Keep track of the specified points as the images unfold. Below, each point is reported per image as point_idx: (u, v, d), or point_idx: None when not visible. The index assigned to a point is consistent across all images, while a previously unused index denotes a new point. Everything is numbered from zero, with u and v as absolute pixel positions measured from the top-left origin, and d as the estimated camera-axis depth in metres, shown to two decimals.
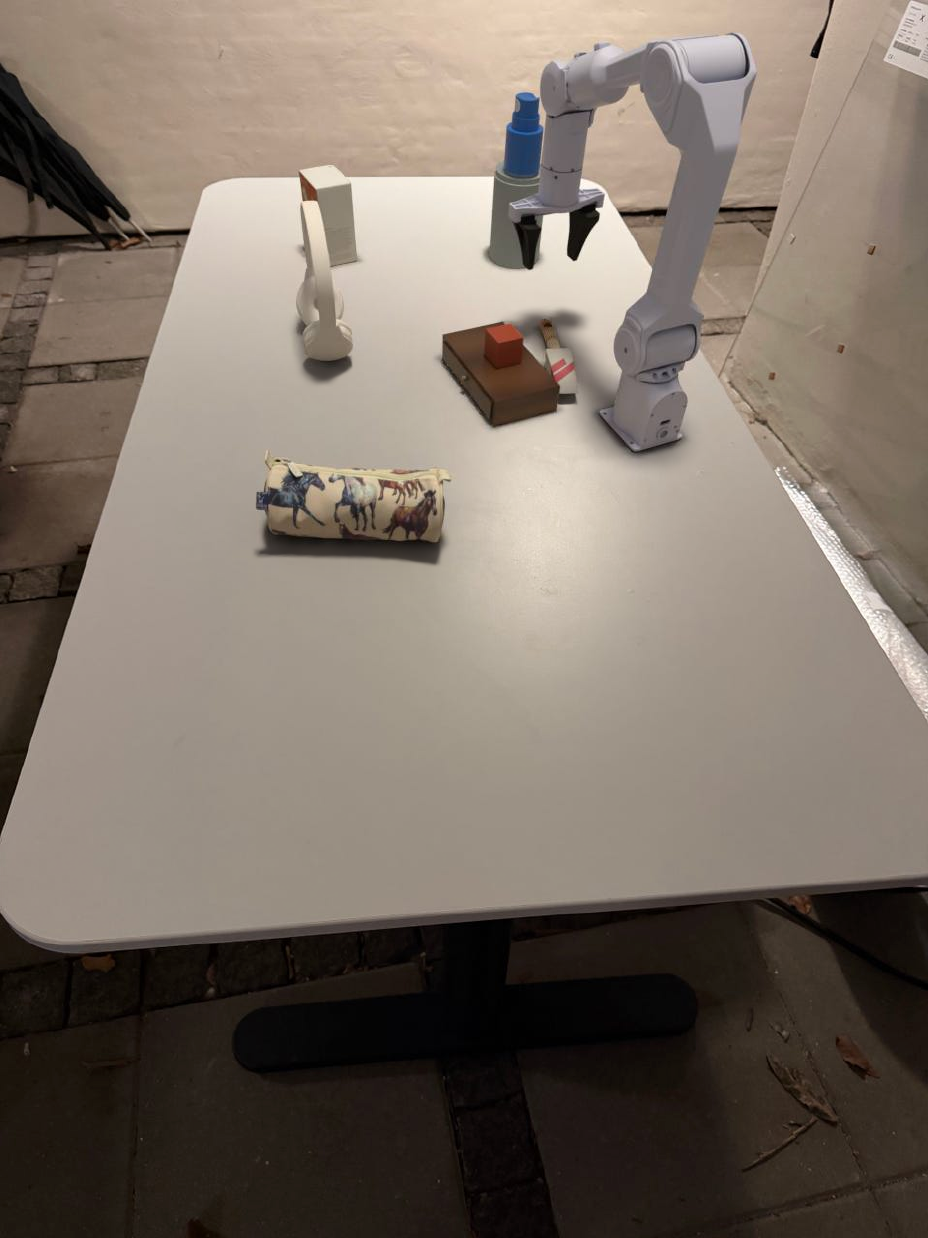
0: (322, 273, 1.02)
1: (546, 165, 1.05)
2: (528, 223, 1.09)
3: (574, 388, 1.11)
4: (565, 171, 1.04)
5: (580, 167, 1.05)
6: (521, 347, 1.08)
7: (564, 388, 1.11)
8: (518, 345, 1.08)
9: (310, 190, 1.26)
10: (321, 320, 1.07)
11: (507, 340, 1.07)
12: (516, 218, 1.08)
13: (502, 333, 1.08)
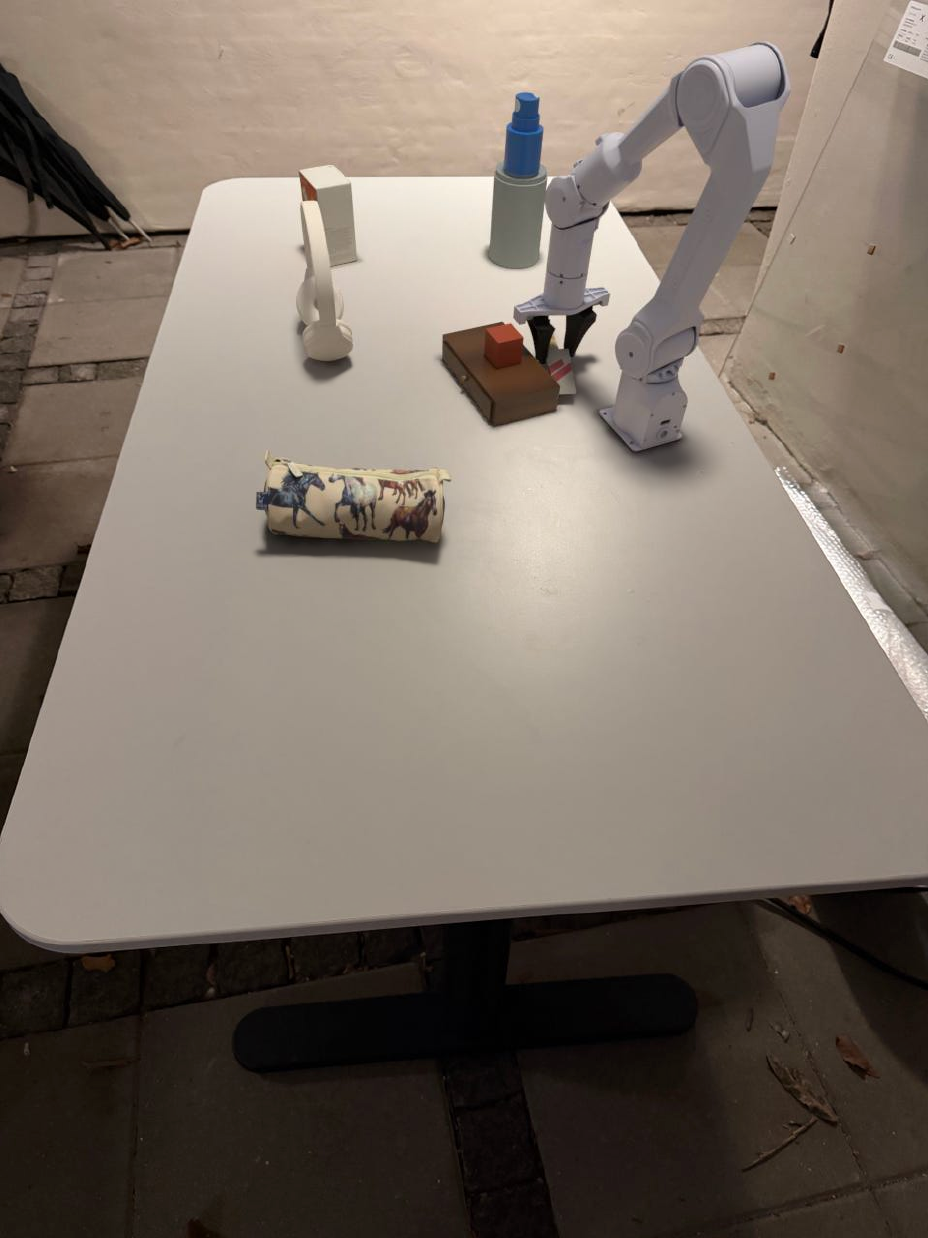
0: (322, 273, 1.02)
1: (555, 272, 1.04)
2: (542, 322, 1.09)
3: (572, 389, 1.11)
4: (571, 277, 1.04)
5: (587, 270, 1.05)
6: (521, 347, 1.08)
7: (562, 389, 1.10)
8: (518, 345, 1.08)
9: (310, 190, 1.26)
10: (321, 320, 1.07)
11: (507, 340, 1.07)
12: (521, 320, 1.08)
13: (502, 333, 1.08)
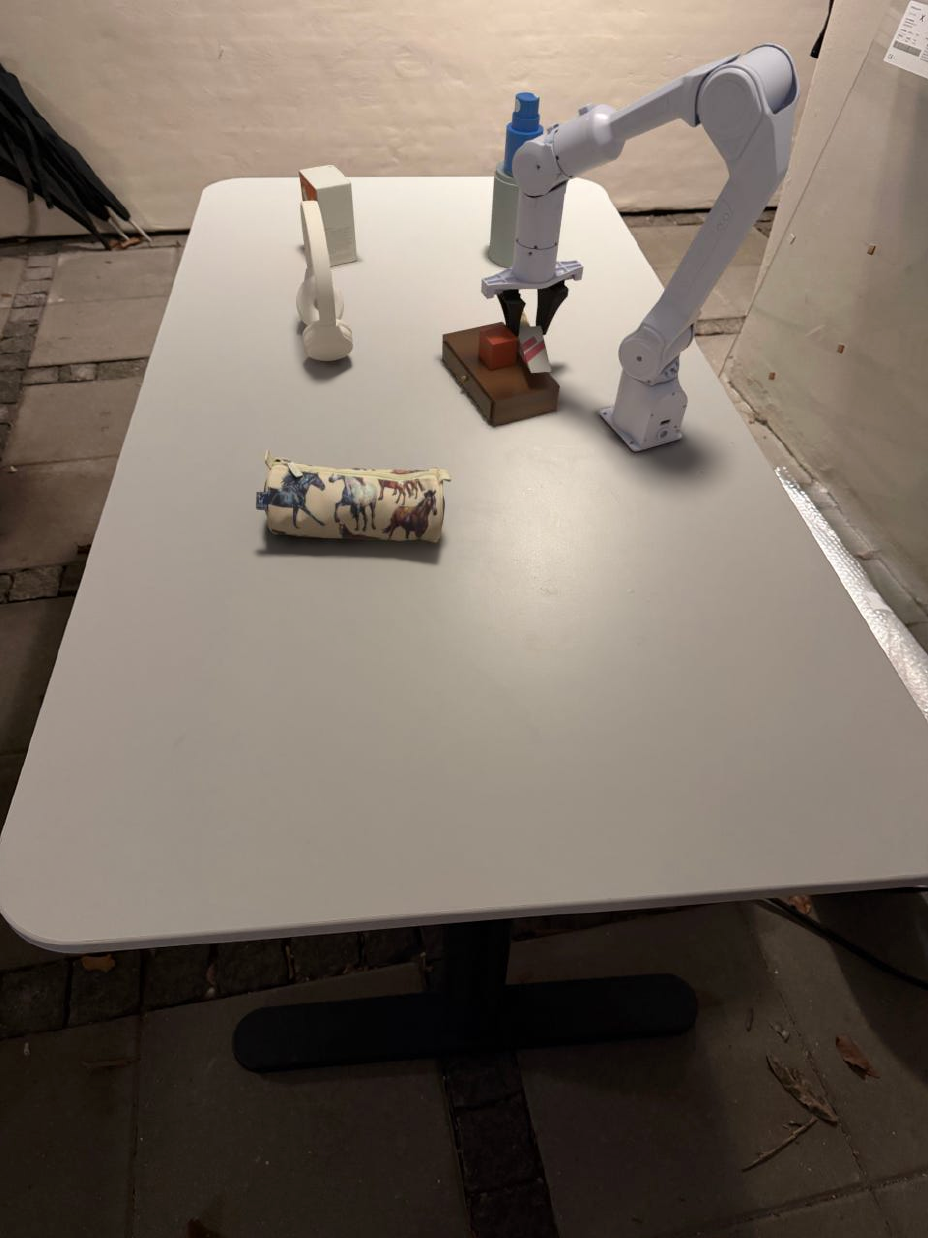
0: (322, 273, 1.02)
1: (529, 244, 0.98)
2: (512, 297, 1.04)
3: (546, 366, 1.05)
4: (540, 248, 0.99)
5: None
6: (516, 349, 1.08)
7: (536, 367, 1.05)
8: (512, 346, 1.08)
9: (310, 190, 1.26)
10: (321, 320, 1.07)
11: (501, 341, 1.06)
12: (489, 294, 1.02)
13: (496, 335, 1.07)
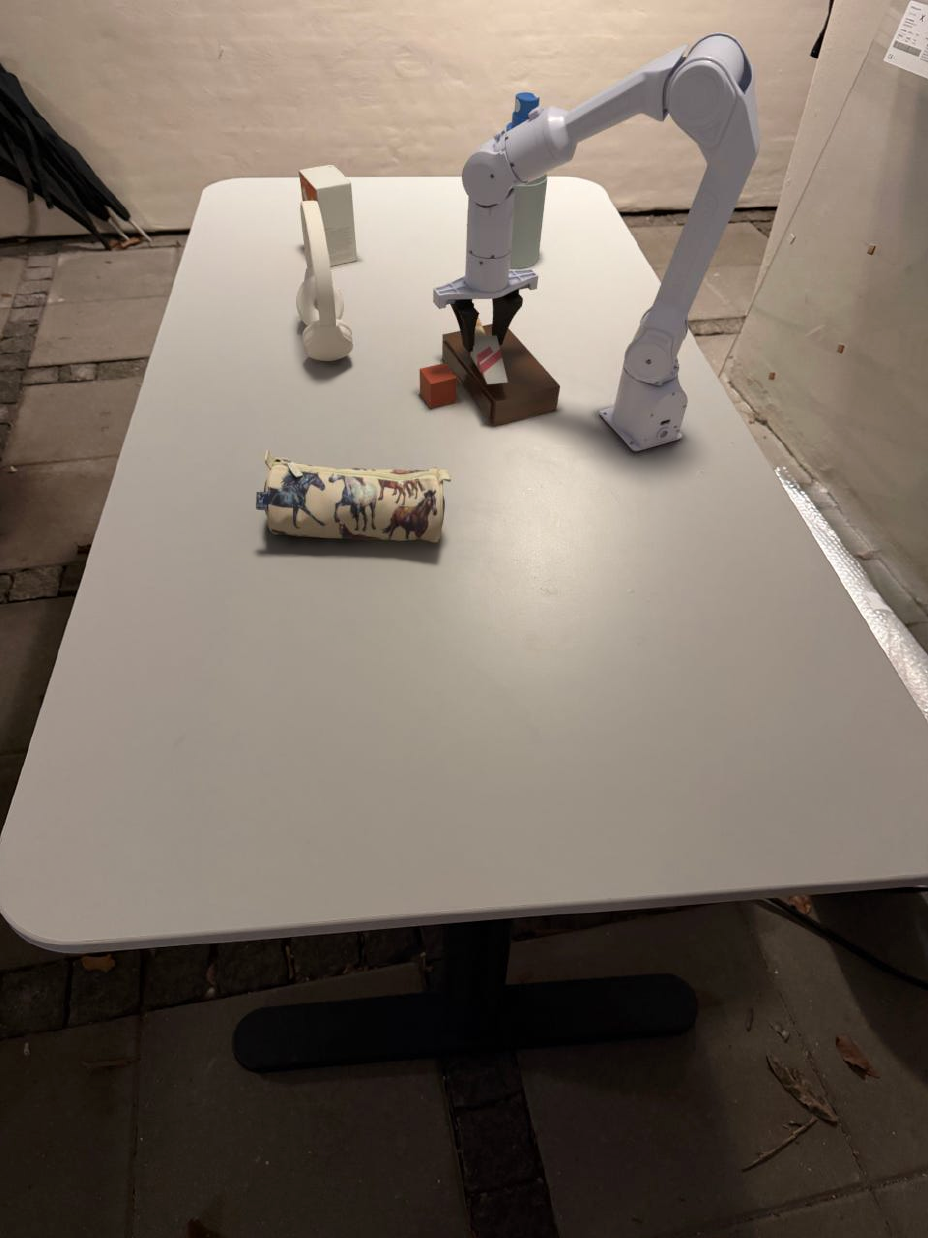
0: (322, 273, 1.02)
1: (485, 255, 0.96)
2: (465, 307, 1.02)
3: (503, 377, 1.03)
4: (490, 257, 0.97)
5: None
6: (441, 382, 1.07)
7: (492, 378, 1.03)
8: (438, 386, 1.07)
9: (310, 190, 1.26)
10: (321, 320, 1.07)
11: (430, 398, 1.08)
12: (440, 304, 1.00)
13: (425, 391, 1.09)
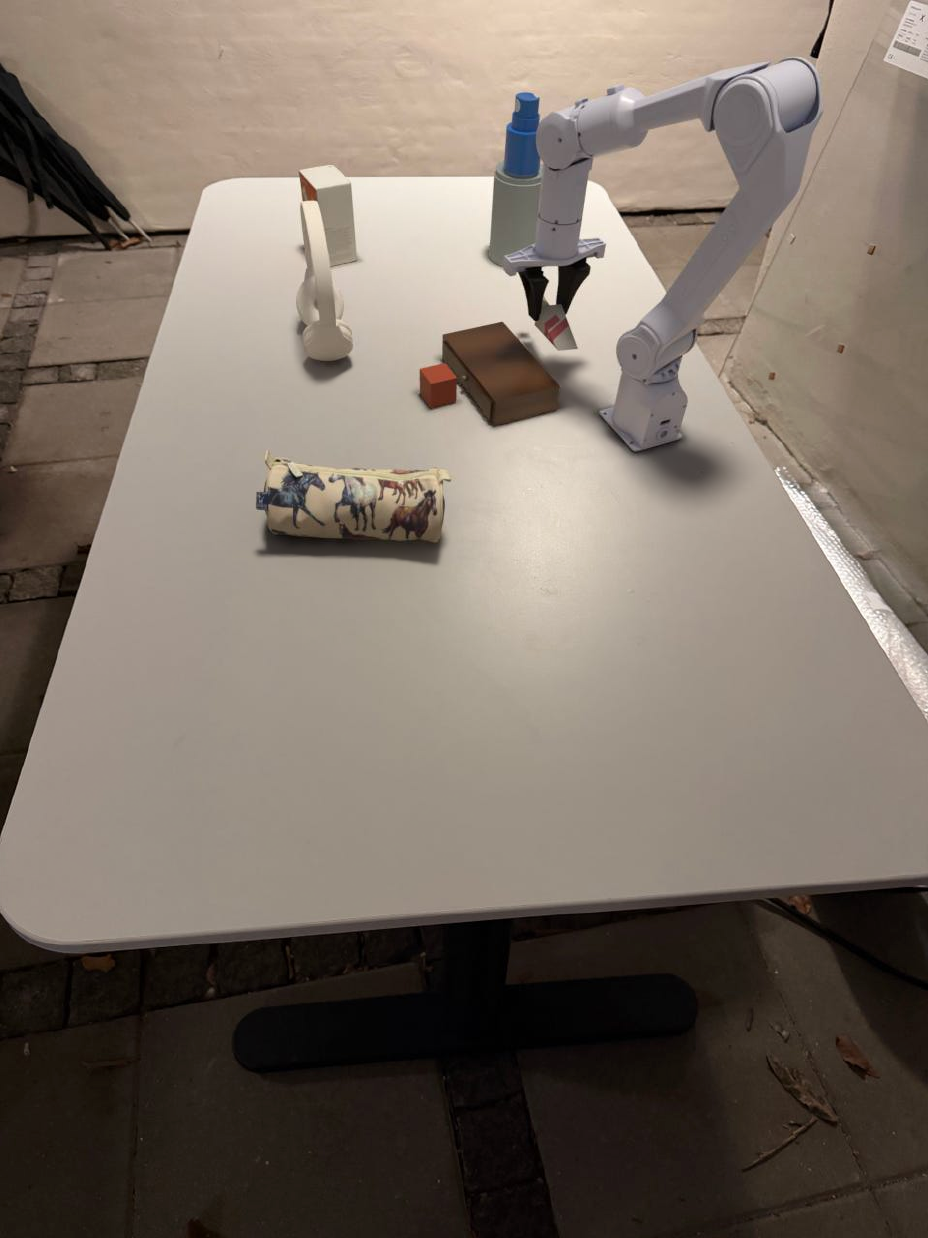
0: (322, 273, 1.02)
1: (549, 219, 0.97)
2: (534, 274, 1.03)
3: (572, 344, 1.04)
4: (564, 223, 0.97)
5: (582, 215, 0.99)
6: (441, 382, 1.07)
7: (562, 345, 1.04)
8: (438, 386, 1.07)
9: (310, 190, 1.26)
10: (321, 320, 1.07)
11: (430, 398, 1.08)
12: (511, 272, 1.01)
13: (425, 391, 1.09)
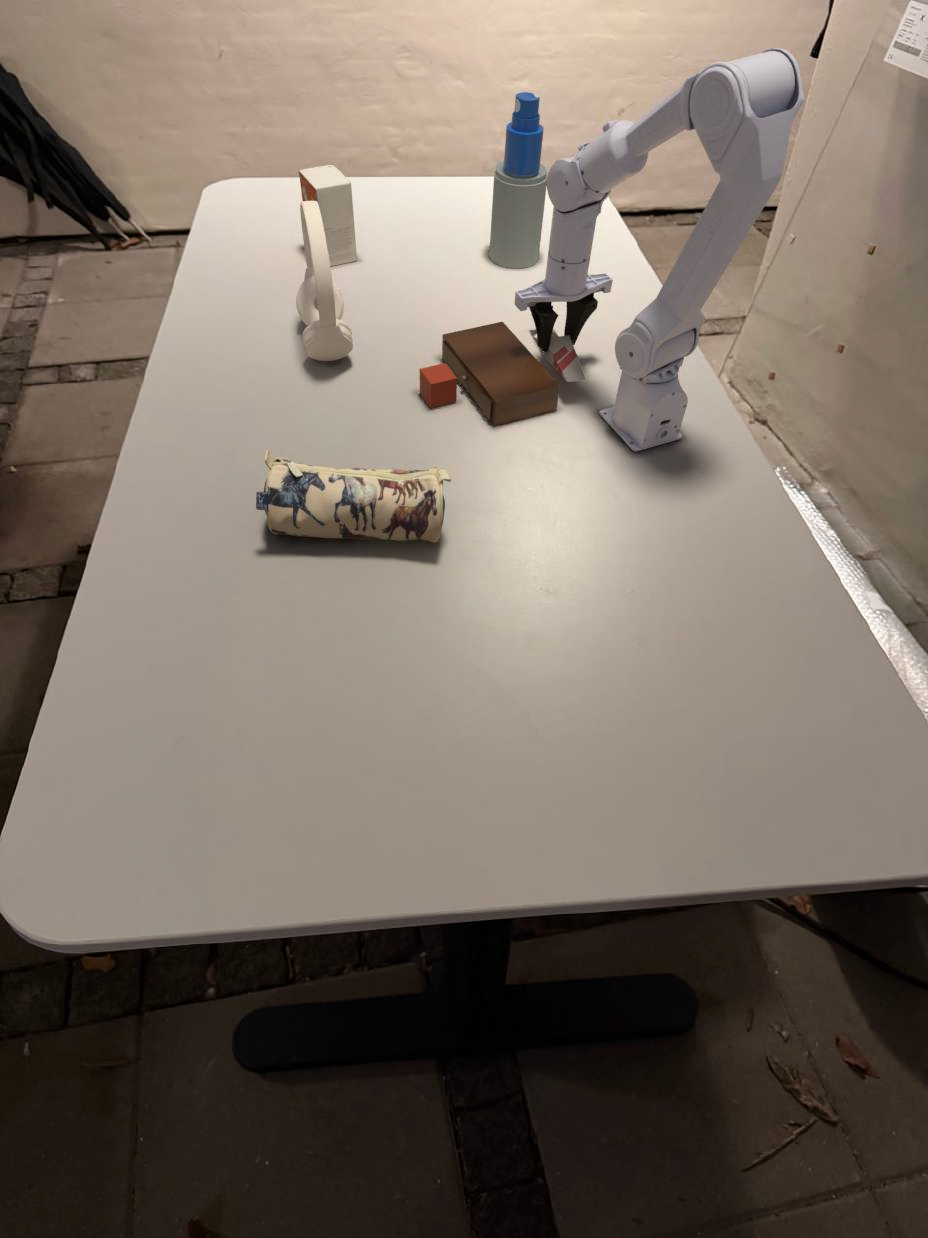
0: (322, 273, 1.02)
1: (557, 257, 1.02)
2: (544, 309, 1.08)
3: (581, 375, 1.09)
4: (573, 262, 1.02)
5: (590, 255, 1.03)
6: (441, 382, 1.07)
7: (571, 376, 1.09)
8: (438, 387, 1.07)
9: (310, 190, 1.26)
10: (321, 320, 1.07)
11: (430, 398, 1.08)
12: (522, 307, 1.06)
13: (425, 391, 1.09)
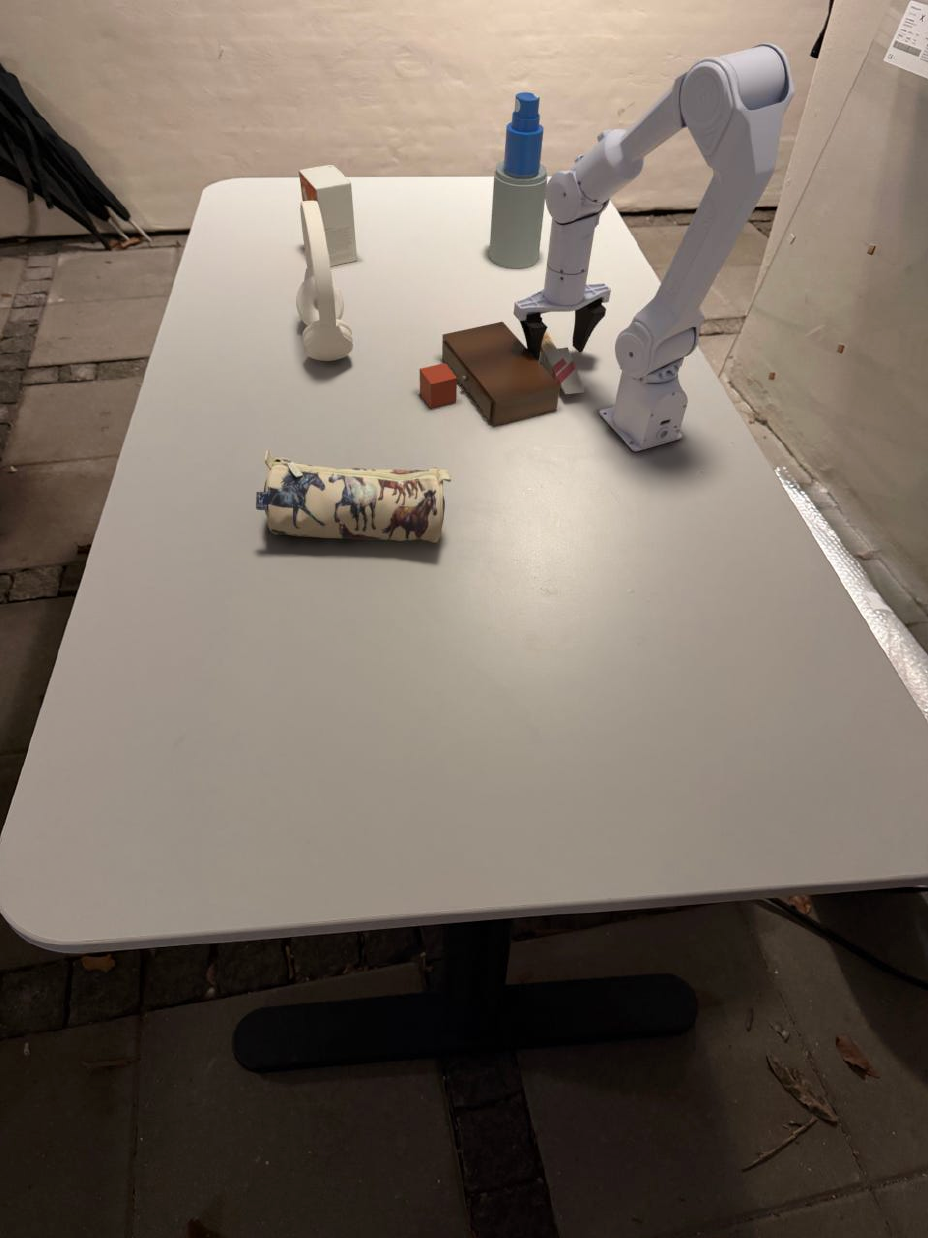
0: (322, 273, 1.02)
1: (555, 268, 1.04)
2: (534, 321, 1.08)
3: (579, 387, 1.11)
4: (571, 273, 1.03)
5: (588, 266, 1.05)
6: (441, 382, 1.07)
7: (569, 388, 1.11)
8: (438, 387, 1.07)
9: (310, 190, 1.26)
10: (321, 320, 1.07)
11: (430, 398, 1.08)
12: (521, 317, 1.07)
13: (425, 391, 1.09)
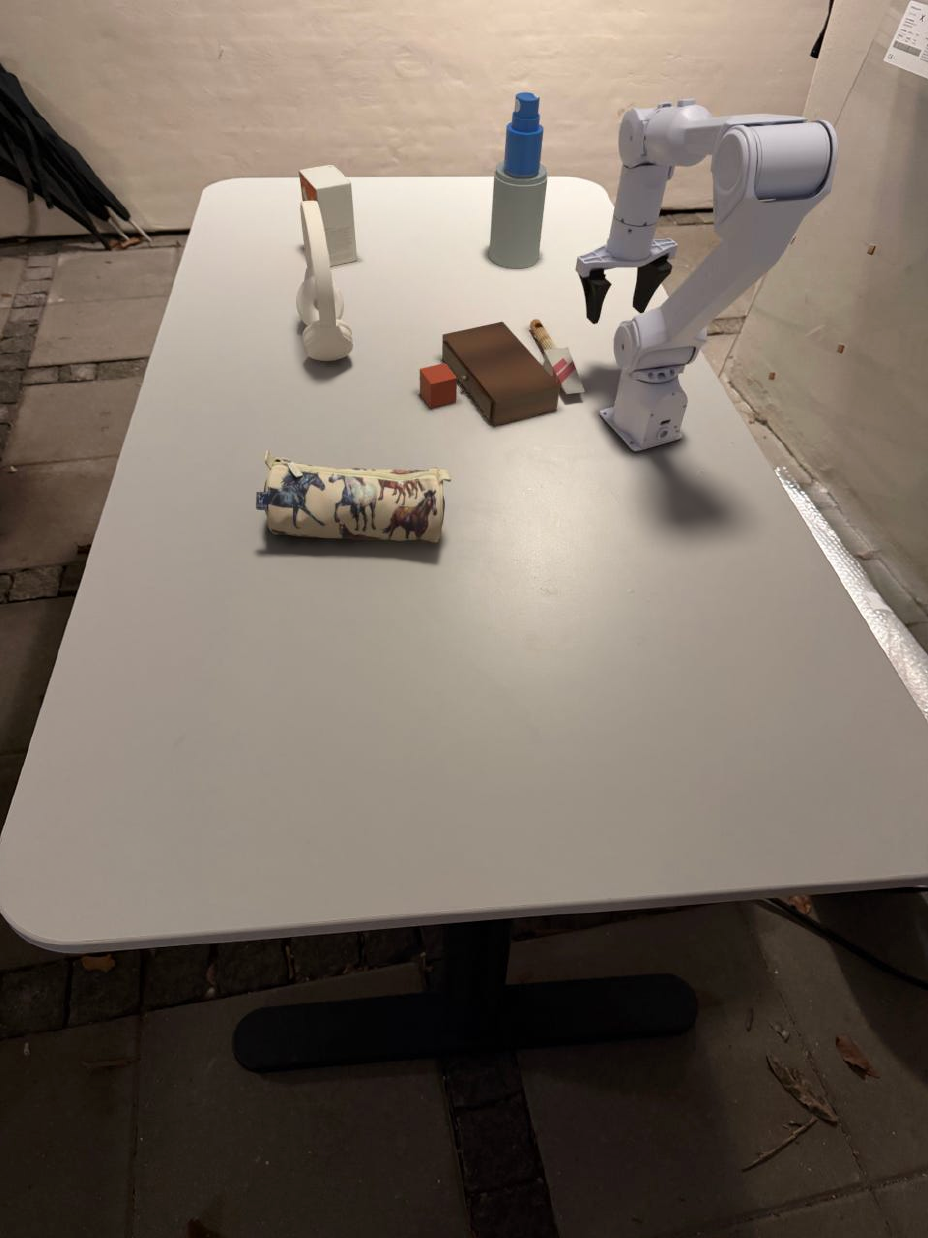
0: (322, 273, 1.02)
1: (617, 216, 0.97)
2: (597, 277, 1.02)
3: (580, 387, 1.11)
4: (640, 225, 0.97)
5: (654, 221, 0.97)
6: (441, 382, 1.07)
7: (570, 388, 1.11)
8: (438, 387, 1.07)
9: (310, 190, 1.26)
10: (321, 320, 1.07)
11: (430, 398, 1.08)
12: (585, 273, 1.00)
13: (425, 391, 1.09)
